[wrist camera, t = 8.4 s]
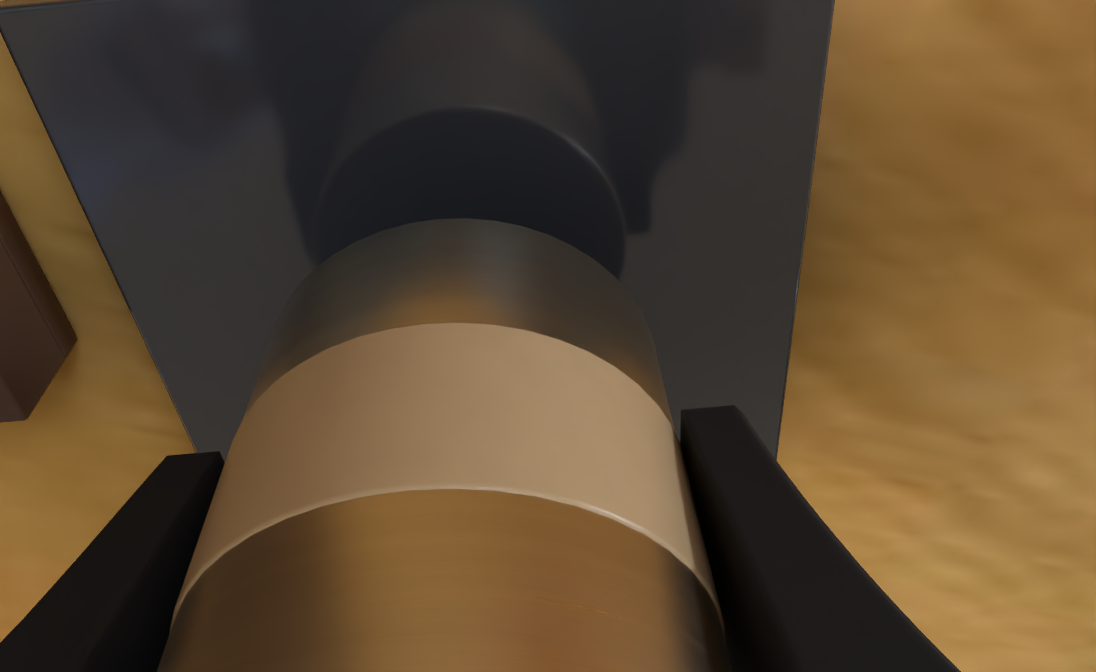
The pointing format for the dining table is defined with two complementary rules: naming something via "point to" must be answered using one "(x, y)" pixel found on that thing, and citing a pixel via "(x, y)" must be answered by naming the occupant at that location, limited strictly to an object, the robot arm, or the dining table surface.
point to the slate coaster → (438, 161)
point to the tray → (26, 325)
